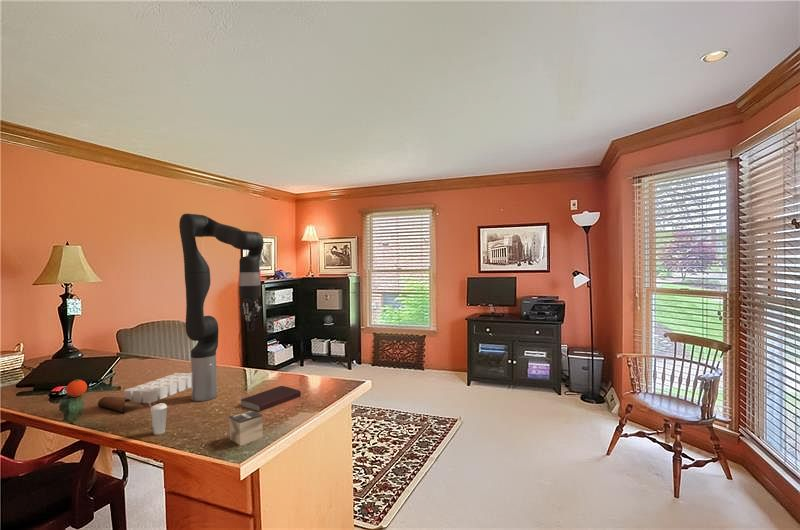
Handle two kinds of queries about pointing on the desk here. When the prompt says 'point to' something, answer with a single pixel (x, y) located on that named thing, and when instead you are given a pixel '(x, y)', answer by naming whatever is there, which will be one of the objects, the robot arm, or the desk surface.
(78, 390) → the clementine
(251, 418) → the maple block
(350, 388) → the desk surface
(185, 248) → the robot arm
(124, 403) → the sunglasses case
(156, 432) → the milkshake
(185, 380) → the organizer
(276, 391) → the book
